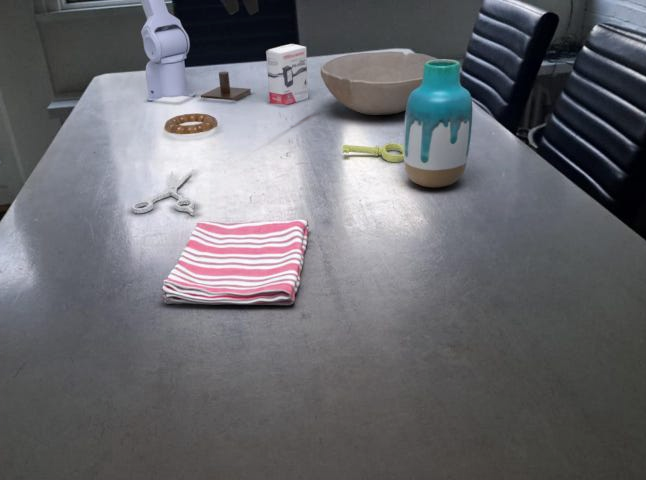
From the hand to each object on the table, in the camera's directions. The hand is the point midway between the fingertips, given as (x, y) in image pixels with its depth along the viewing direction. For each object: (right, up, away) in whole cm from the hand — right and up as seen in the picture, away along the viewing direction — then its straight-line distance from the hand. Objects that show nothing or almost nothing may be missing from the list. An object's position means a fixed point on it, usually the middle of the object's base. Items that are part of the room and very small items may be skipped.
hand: (244, 12), depth 140 cm
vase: (+33, -42, -25) cm, 59 cm away
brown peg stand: (-6, -6, +29) cm, 30 cm away
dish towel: (+3, -58, -46) cm, 74 cm away
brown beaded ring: (-12, -21, +6) cm, 25 cm away
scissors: (-11, -43, -22) cm, 49 cm away
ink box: (+9, -10, +23) cm, 27 cm away
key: (+26, -33, -12) cm, 44 cm away
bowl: (+30, -16, +12) cm, 36 cm away
